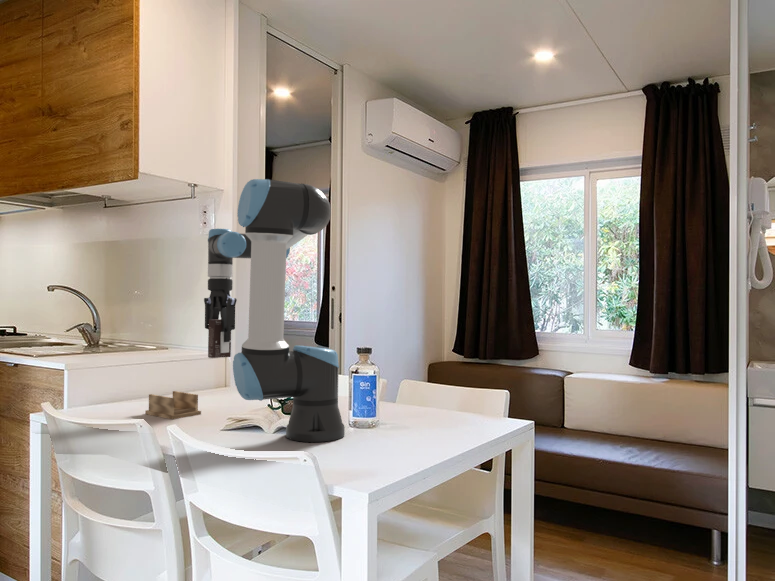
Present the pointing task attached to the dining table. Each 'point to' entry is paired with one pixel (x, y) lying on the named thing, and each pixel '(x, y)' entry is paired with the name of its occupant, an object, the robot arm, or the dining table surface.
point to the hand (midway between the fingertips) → (219, 351)
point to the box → (216, 340)
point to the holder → (173, 405)
